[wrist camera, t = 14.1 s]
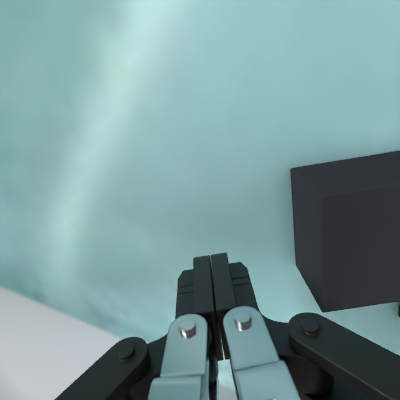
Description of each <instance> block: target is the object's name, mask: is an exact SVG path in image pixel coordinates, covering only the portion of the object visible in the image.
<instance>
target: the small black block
mask: <svg viewBox="0 0 400 400" xmlns="http://www.w3.org/2000/svg"><path fill="white" fill-rule="evenodd" d="M291 186H292V204H293V222H294V240H295V258H296V266H297V268H298V270H299V271H300V273H301V275H302V277H303V279H304V280H305V282H306V284H307V286H308V287H309V289H310V291H311V293H312V295H313V296H314V298H315V300H316V302H317V304H318V305H319V307H320V309H321V311H322V312H330V311H337V310H343V309H350V308H357V307H364V306H370V305H377V304H384V303H391V302H397V301H400V151H395V152H389V153H383V154H377V155H370V156H364V157H358V158H352V159H346V160H340V161H334V162H328V163H321V164H315V165H309V166H303V167H297V168H292V169H291Z"/></svg>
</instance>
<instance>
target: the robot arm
mask: <svg viewBox="0 0 400 400" xmlns="http://www.w3.org/2000/svg"><path fill="white" fill-rule="evenodd" d="M211 263H212V266H211ZM221 339H222V341H221ZM222 344H223V350H224V355H225V360H226V359H230V364H231V369H232V375H233V381H234V385H235V390H236V394H237V399H238V400H400V356H399V355H397V354H395V353H393V352H391V351H389V350H387V349H385V348H383V347H381V346H379V345H377V344H375V343H373V342H371V341H369V340H368V339H366V338H364V337H362V336H360V335H358V334H356V333H354V332H352V331H350V330H348V329H346V328H344V327H342V326H340V325H338V324H337V323H335V322H333V321H331V320H329V319H327V318H325V317H323V316H321V315H319V314H315V313H300V314H297V315H295V316H294V317H292V318H291V319H290V321H289V323H283V322H276V321H273V320H270V319H268V318H266V317H265V316H263V315H262V314H261V312H260V311H259V309H258V306H257V302H256V298H255V295H254V291H253V288H252V284H251V281H250V277H249V274H248V270H247V268H246V267H245V266H244V265H243V264H242V263H241V262H237V263H230V264H229V262H228V257H227V253H220V254H214V255H211V260H210V256H209V255H208V256H201V257H195V258H193V269H191V270H185V271H183V272H182V274H181V275H180V277H179V278H178V288H177V302H176V316H175V320H174V321H173V322H172V324H171V325H170V327H169V330H168V334H166V335H165V336H164V337H162V338H160V339H158V340H156V341H154V342H151V343H149V344H146V342H145V341H144V340H143V339H141V338H138V337H129V338H125V339H123V340H121V341H119V342H118V343H116V344H115V345H114V346H113V347H111V348H110V349H109V350H108V351H107V352H106V353H105V354H104V355H103V356H102V357H101V358H99V359H98V360H97V361H96V362H95V363H94V364H93V365H92V366H91V367H90V368H89V369H87V370H86V371H85V372H84V373H83V374H82V375H81V376H80V377H79V378H78V379H77V380H75V381H74V382H73V383H72V384H71V385H70V386H69V387H68V388H67V389H66V390H65V391H63V393H61V394H60V395H59V396H58V397H57V398H56V399H55V400H219V380H218V361H220V360H223V350H222Z"/></svg>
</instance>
